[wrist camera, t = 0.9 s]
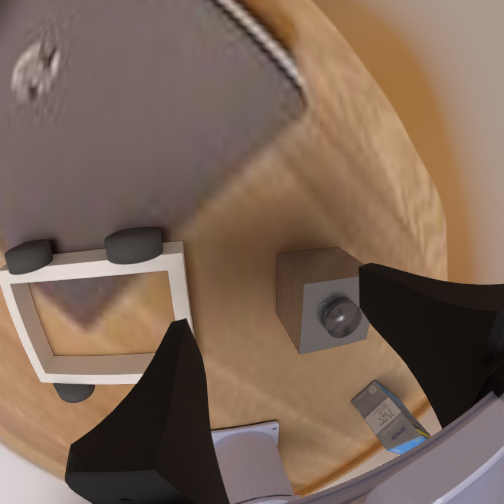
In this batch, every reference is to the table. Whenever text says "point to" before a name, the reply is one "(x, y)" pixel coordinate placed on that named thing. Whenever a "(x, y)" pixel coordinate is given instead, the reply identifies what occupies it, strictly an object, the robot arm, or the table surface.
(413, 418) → the label tape box
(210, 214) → the table surface
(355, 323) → the engine block
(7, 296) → the chassis
